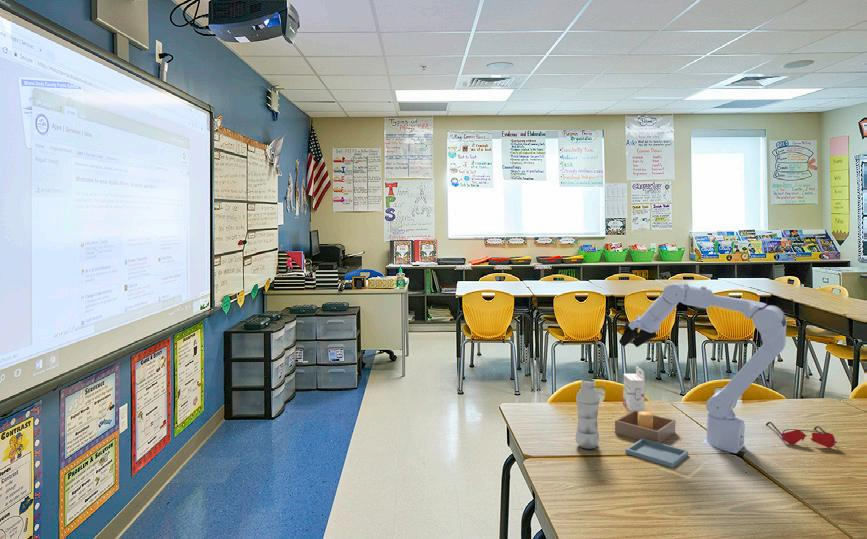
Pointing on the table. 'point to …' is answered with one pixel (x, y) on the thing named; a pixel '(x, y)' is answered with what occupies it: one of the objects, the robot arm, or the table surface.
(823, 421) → the table surface
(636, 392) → the ink cartridge box
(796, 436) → the glasses
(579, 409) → the plastic bottle
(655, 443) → the tray
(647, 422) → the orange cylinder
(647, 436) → the brown storage bin
